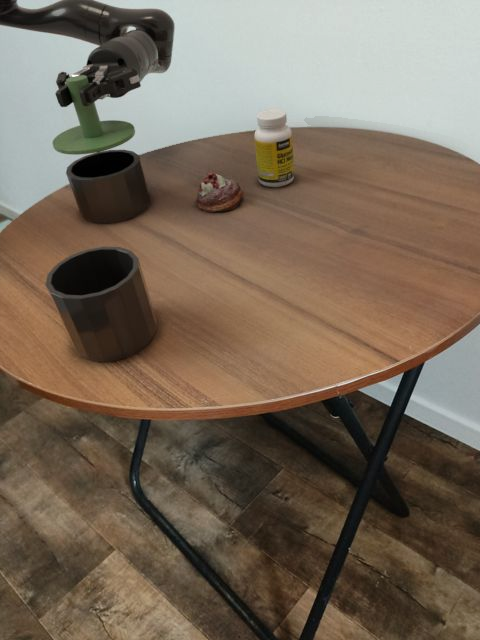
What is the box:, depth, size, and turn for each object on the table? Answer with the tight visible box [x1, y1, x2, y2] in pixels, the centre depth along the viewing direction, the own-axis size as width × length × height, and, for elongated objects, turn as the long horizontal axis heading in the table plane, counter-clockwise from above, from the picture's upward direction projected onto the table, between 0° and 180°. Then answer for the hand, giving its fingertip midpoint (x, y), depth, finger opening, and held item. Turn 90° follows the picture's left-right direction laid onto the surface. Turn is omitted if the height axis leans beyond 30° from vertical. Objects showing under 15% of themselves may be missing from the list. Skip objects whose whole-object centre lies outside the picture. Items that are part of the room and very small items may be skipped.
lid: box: [52, 75, 136, 156], centre depth 78 cm, size 13×13×9 cm
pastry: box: [196, 171, 244, 213], centre depth 84 cm, size 8×8×5 cm
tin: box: [65, 149, 151, 225], centre depth 86 cm, size 12×12×8 cm
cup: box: [45, 246, 158, 363], centre depth 60 cm, size 10×10×9 cm
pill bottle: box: [253, 109, 295, 188], centre depth 86 cm, size 6×6×11 cm
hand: (71, 99), depth 74 cm, fingers closed on lid, 3 cm apart
